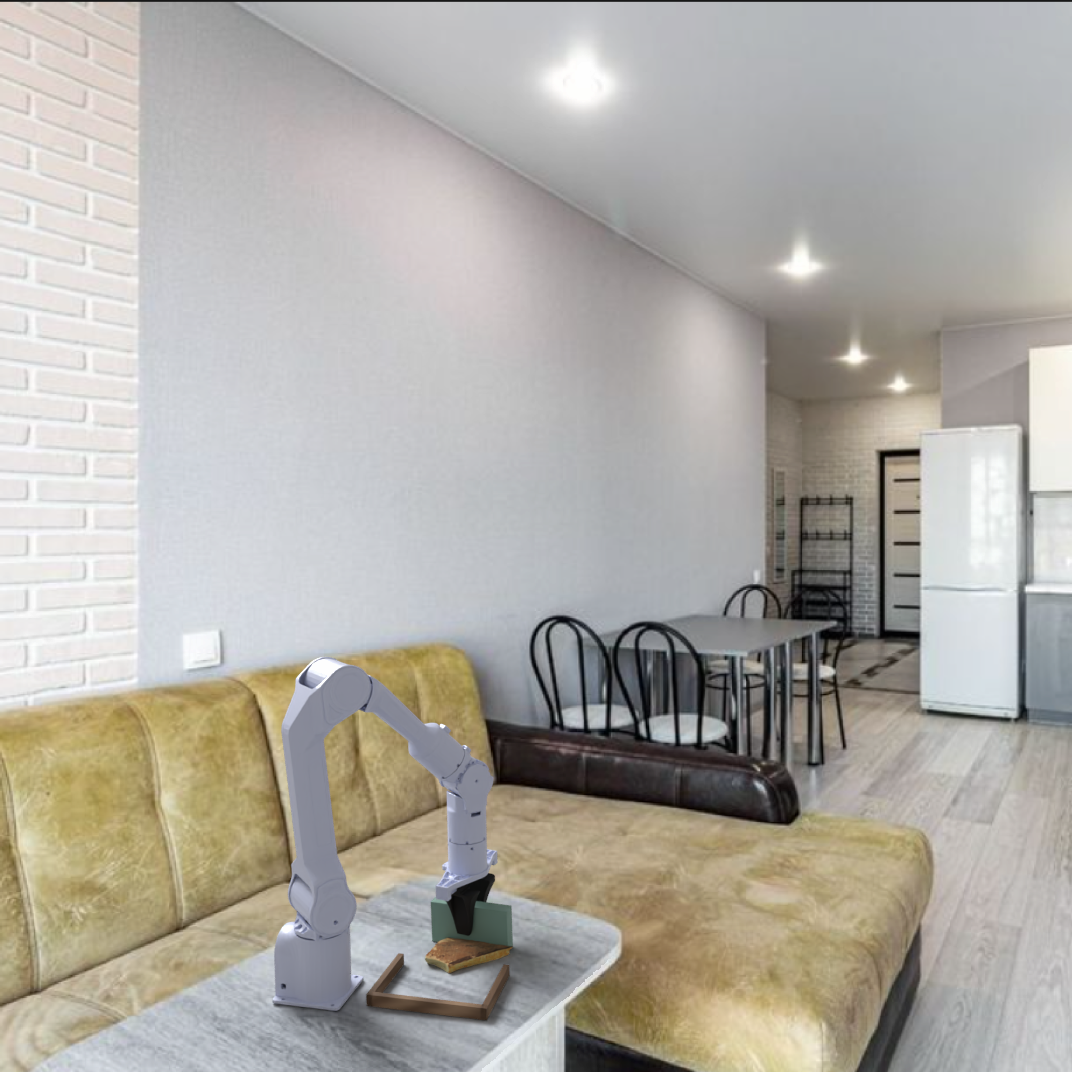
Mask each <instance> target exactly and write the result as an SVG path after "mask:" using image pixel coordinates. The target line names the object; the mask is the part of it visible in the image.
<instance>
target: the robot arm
mask: <svg viewBox="0 0 1072 1072" xmlns="http://www.w3.org/2000/svg"><path fill="white" fill-rule="evenodd" d="M294 687H295V688H294V692H293V694H292V697H291V700H290V703H289V704H288V707H287V709H286V713H285V715H284V717H283V719H282V723H281V739H282V747H283V748H282V749H283V756H284V764H285V772H286V773H285V774H286V781H287V789H288V797H289V805H290V813H291V822H292V829H293V830H292V831H293V838H294V844H295V845H294V846H295V847H294V848H295V854H296V856H295V859H294V860H293V861H292V863H291V864H290V867H291V879H290V881H289V885H288V889H287V899H288V903H289V904H290V906H291V908H293V909H294V910H295V911H296V916H295V920H294V921H289V922H286V923H285V924H284V925H282V927H281V928H280V930H279V932H278V933H277V936H276V939H275V940H276V941H275V945H274V951H273V953H274V954H273V955H274V956H273V959H274V961H273V962H274V989H275V991H274V992H275V993H274V995H275V996H273V998H272V1003H273V1004H278V1005H286V1006H295V1007H303V1008H311V1009H320V1010H328V1011H333V1012H335V1011H339V1010H340V1009H341V1008H342V1007H343V1006H344V1004H345V1003H346V1001H348V1000H349V998H350V997H351V996H352V995H353V994H354V992H355V991H356V990H357V988H358V987H359V986H360V984H361V983H363V981H364V976H363V975H360V974H352V956H351V955H352V952H351V924H352V922H353V921H354V919H355V916H356V913H357V906H358V904H357V900H356V897H355V895H354V893H353V892H352V891H351V890H350V888H349V886H348V883H347V875H346V872H345V869H344V867H343V865H342V863H341V860H340V858H339V856H338V850H337V849H338V848H337V842H336V833H335V832H336V831H335V824H334V816H333V807H332V801H331V799H332V798H331V791H330V782H329V777H328V776H329V774H328V773H329V772H328V765H327V757H326V749H325V739H326V737H327V736H328V735H329V733H331V731H332V730H333V729H334V728H335V726H337V725H338V724H340V723H341V722H343V721H345V720H346V719H347V718H349V717H350V716H352V715H354V714H355V713H357V712H358V711H361V712H364V713H373V714H374V715H375V716H376V717H378V718H379V719H380V720H381V721H383V722H384V723H385V724H387V725H388V726H389V727H390V728H391V729H393V731H395V732H396V733H397V734H399V735H400V736H402V737H403V738H404V739H405V740H406V741H407V742H408V743H407V745H408V747H407V749H408V753H409V755H410V756H411V757H412V758H413V759H414V760H415V761H416V762H417V763H419V764H420V765H421V766H422V767H423V768H425V769H426V770H427V771H428V772H429V773H430V774H431V775H433V777H435V779H437V780H438V783H439V785H440V786H441V787H442V788H445V789H446V825H447V861H446V862H444V863H443V864H441V866H442V867H441V869H442V870H443V871H444V872H443V875H442V877H441V879H440V880H439V882H438V883H437V884H436V885H435V897H436V899H439V900H444V901H446V902H447V904H448V906H449V908H450V911H451V914H452V917H453V920H454V924H455V927H456V931H457V934H462V935H466V936H469V935H470V934H471V933H472V928H473V915H474V908H475V903H476V901H481V902H488V898H489V894H490V892H491V889H492V887H493V885H494V884H495V882H496V874H493V873H489V872H490V870H491V867H492V866H496V865H497V864H498V861H499V860H498V850H494V849H489V848H488V842H487V841H488V838H487V835H488V834H487V830H488V829H487V806H488V794H489V793H490V791H492V787H493V785H494V778H495V777H494V776H492V775H491V772H490V768H489V766H488V764H486V763H485V762H484V761H483V760H480V759H478V758H475V757H473V756H472V755H471V752H472V748H470V747H469V746H467V745H465V744H463V745H461V744H460V743H459V741H457V739H455V738H454V737H453V736H452V735H450V733H451V731H452V730H451V729H450V728H449V727H448V726H447V725H445V724H443V723H440V724H438V723H437V722H428V723H424V722H422V720H421V719H419V718H418V717H417V715H415V714H414V712H412V711H411V710H410V709H409V708H408V707H407V705H405V704H404V703H403V702H402V701H401V700H400V699H399V698H398V697H397V696H396V695H395V694H394V693H393V692H392V691H391V690H390V689H389V688H388V687H387V686H385V684H383V682H381V681H379V679H377V678H376V677H374V676H372V675H369V674H368V673H367V672H366V671H365V670H364V669H363V668H361V667H360V666H357V665H353V664H348V663H345V662H342V661H340V660H337V659H336V658H335V657H332V656H331V657H330V656H321V657H318V658H316V659H313V660H312V661H311V662H309V663H308V665H306V667H305V668H304V669H303V670H302V671H301V672H300V673H299V674H298V675H297V677H296V678H295V685H294Z"/></svg>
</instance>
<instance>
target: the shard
mask: <svg viewBox="0 0 1072 1072" xmlns="http://www.w3.org/2000/svg"><path fill="white" fill-rule="evenodd" d="M513 948H514V945H513V946H505V945H495V944H490V943H486V942H481V941H474V940H465V939H454V938H446V939H443V940H441V941H438V942H436V943H435V944H434V945H433V947H432V948H431V949H430V951H428V952H427V954H425V957H424V961H425V962H426V963H427V964H428V965H434V966H436V967H438V968H440V969H442V970H443V971H444V972H446V973H448V974H451V973H453V972H456V971H458V970H461V969H463V968H464V969H465V968H469V967H472V966H476V965H481V964H484V963H488V962H493V961H495V960H498V959H499V960H500V959H502V958H504V957H506V956H509V955H510V953H511V952H510V951H511V949H513Z"/></svg>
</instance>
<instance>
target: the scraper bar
mask: <svg viewBox="0 0 1072 1072" xmlns="http://www.w3.org/2000/svg"><path fill="white" fill-rule="evenodd" d="M512 909H513V906H512V905H511V904H503V903H502V904H501V903H495V902H494V903H493V902H488V901H487V902H481V901H476V903H475V908H474V915H473V928H472V933H471V934H470V935H469V936H466V935H462V934H457V931H456V927H455V924H454V920H453V917H452V914H451V911H450V908H449V906H448V904H447V902H446V901H444V900H439V899H436V896H434V898H432V900H431V901H430V918H431V940H432V941H431V942H435V943H438V941H441V940H443V939H446V938H454V939H465V940H474V941H481V942H486V943H490V944H495V945H505V946H513V947H514V945H513V944H514V942H513V941H514V939H513V938H514V937H513V912H512Z"/></svg>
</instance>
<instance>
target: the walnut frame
mask: <svg viewBox="0 0 1072 1072" xmlns="http://www.w3.org/2000/svg"><path fill="white" fill-rule="evenodd" d="M404 965H405V954H404V953H400V952H398V953H397V954H396V956H395V957H394V959H392V960H391V962H390V964H389V965H388V966H387V967H386V968H385V970H384V971H383V972H382V974H381V975H380V976H379V977H378V979H377V980H376V982H375V983H374V984H373V985H372V986H371V988H370V989H369V990H368V992H367V993H366V994H365V996H366V997H365V998H366V999H365V1000H366V1001H365V1002H366V1004H365V1005H366V1007H371V1008H372V1007H373V1008H382V1009H390V1010H396V1011H397V1010H398V1011H406V1012H413V1013H414V1012H415V1013H422V1014H431V1015H437V1016H438V1015H440V1016H447V1017H448V1016H449V1017H455V1018H463V1019H470V1020H471V1019H473V1020H480V1021H488V1018H489V1016H490V1015H491V1013H492V1011H493V1009H494V1007H495V1005H496V1004H497V1001H498V1000H499V997H500V995H501V993H502V991H503V989H504V987H505V986H506V983H507V982H508V980H509V978H510V964H505V963H504V964H503V965H502V967H501V969H500V971H499V972H498V974H497V976H496V978H495V979H494V982H493V983H492V985H491V988H489V991H488V992H487V995H486V997H485V999H484V1000H483V1003H482V1004H481V1003H473V1002H467V1001H466V1002H465V1001H457V1000H448V999H439V998H429V997H422V996H413V995H404V994H395V993H387V992H385V990H386V989H387V988H388V986H389V985H390V984H391V983H392V981H393V980H394V979H395V977H396V976H397V975H398V973H399V972H400V970H401V969H402V967H403V966H404Z"/></svg>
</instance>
